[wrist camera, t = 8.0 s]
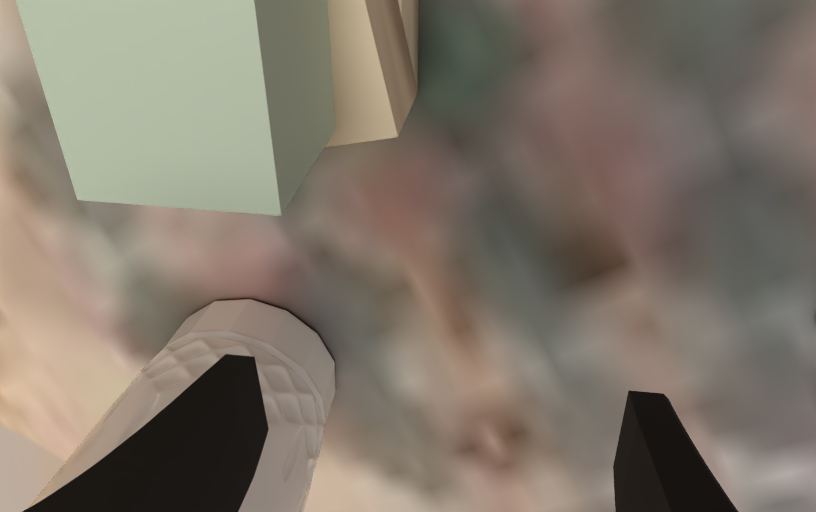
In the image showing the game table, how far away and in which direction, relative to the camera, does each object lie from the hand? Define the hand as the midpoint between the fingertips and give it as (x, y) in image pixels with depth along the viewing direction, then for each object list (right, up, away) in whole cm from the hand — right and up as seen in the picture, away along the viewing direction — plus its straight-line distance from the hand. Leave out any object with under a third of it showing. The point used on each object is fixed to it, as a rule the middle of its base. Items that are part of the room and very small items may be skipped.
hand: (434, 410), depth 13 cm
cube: (-4, +8, +2) cm, 9 cm away
